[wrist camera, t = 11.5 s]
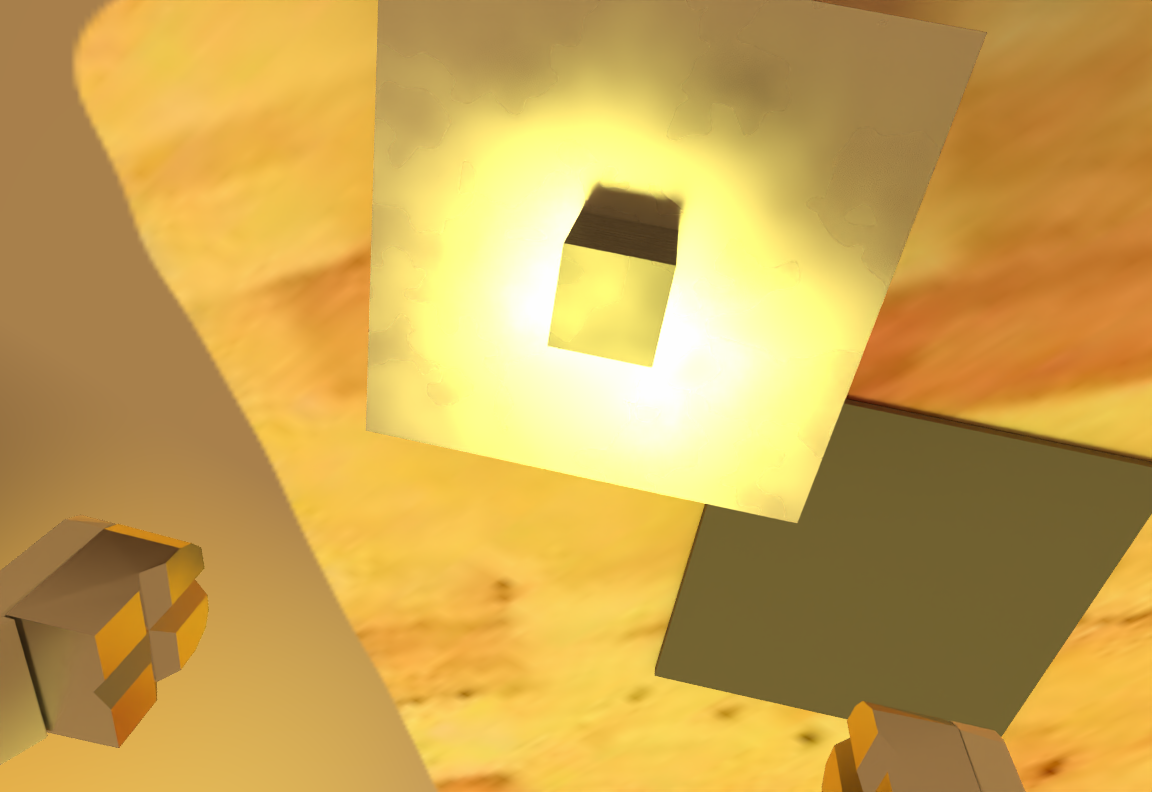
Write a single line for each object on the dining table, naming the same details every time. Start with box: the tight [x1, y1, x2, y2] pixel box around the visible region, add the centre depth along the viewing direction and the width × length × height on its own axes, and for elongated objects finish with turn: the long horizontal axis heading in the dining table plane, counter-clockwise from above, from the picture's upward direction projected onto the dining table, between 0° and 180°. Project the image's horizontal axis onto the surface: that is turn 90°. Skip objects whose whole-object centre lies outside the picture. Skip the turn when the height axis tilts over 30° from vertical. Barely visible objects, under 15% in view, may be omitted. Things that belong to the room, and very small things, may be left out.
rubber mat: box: [655, 399, 1152, 737], centre depth 35 cm, size 18×18×1 cm
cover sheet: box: [366, 0, 987, 523], centre depth 22 cm, size 16×16×4 cm
